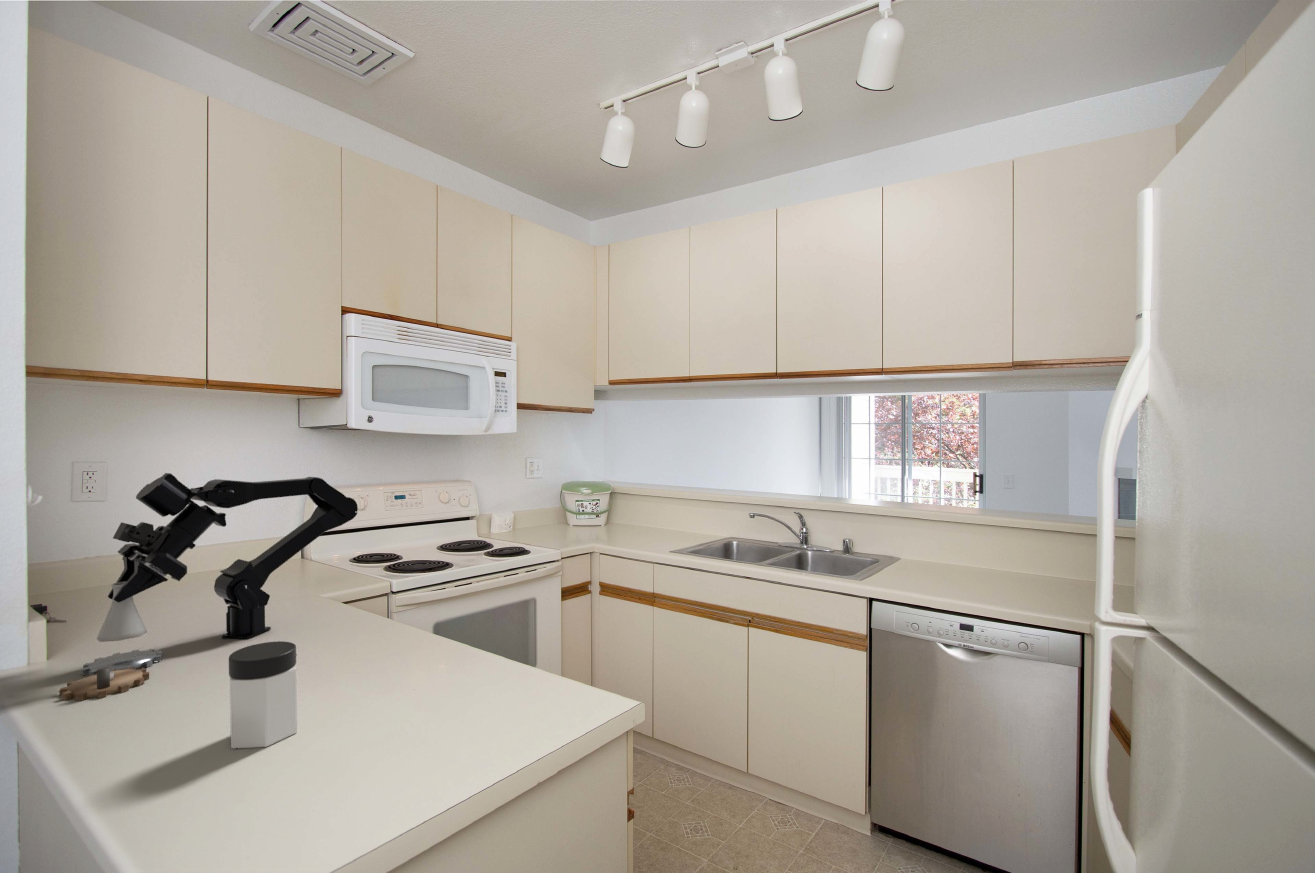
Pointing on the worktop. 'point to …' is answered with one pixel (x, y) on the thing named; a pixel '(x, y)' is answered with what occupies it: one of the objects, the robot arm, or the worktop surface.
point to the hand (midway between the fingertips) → (112, 599)
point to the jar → (263, 694)
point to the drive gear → (104, 683)
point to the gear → (123, 661)
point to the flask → (121, 619)
